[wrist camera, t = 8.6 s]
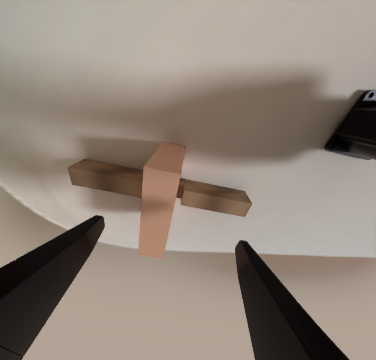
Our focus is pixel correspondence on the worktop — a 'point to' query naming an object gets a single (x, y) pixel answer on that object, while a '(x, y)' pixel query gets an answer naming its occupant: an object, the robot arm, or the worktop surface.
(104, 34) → the worktop surface
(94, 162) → the brown rail
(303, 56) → the worktop surface
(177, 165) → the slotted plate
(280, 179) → the worktop surface
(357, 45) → the worktop surface
